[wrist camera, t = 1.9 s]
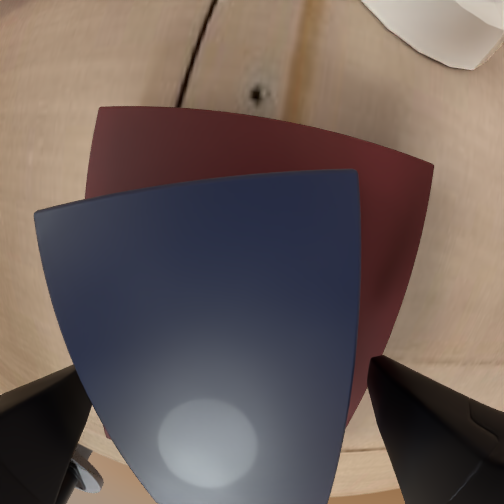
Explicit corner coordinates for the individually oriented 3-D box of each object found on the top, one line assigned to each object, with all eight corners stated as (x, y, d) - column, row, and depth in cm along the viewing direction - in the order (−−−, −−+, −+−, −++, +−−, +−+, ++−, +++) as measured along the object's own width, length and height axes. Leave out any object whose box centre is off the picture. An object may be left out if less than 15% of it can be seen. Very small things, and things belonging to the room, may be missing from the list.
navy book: (317, 444, 10) (327, 507, 7) (173, 446, 11) (155, 503, 7) (319, 174, 8) (359, 168, 4) (105, 199, 8) (30, 212, 5)
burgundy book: (309, 437, 14) (315, 476, 11) (125, 404, 14) (106, 438, 11) (396, 167, 10) (434, 164, 7) (135, 121, 10) (98, 106, 7)
